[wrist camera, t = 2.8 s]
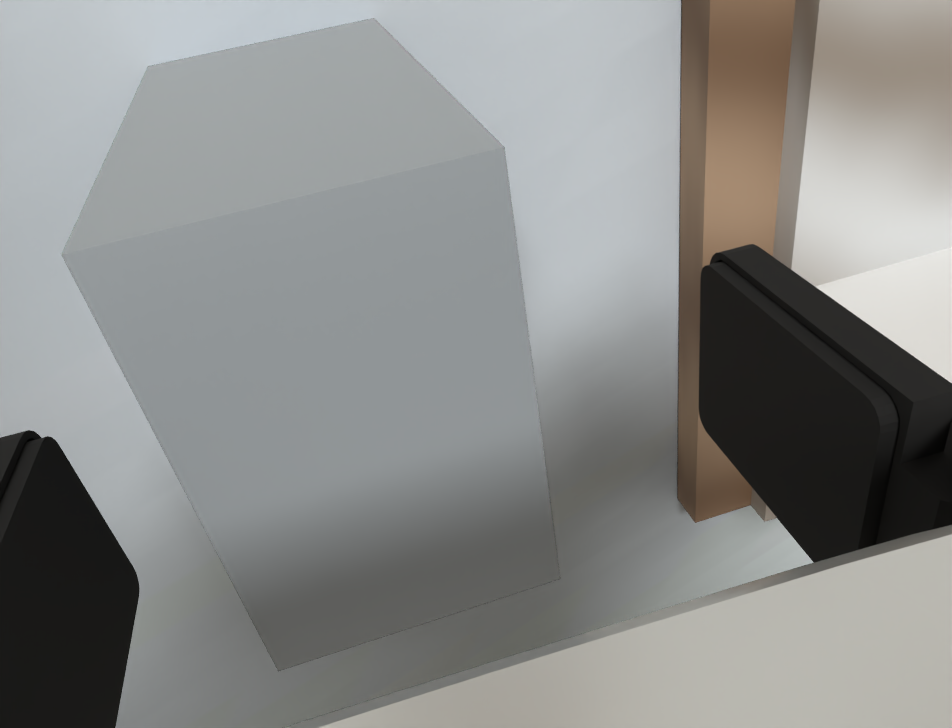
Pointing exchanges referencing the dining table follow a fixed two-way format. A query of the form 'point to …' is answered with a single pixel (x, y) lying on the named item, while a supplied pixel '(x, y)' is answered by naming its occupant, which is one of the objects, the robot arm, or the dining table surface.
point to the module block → (326, 332)
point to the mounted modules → (906, 305)
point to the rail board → (804, 163)
